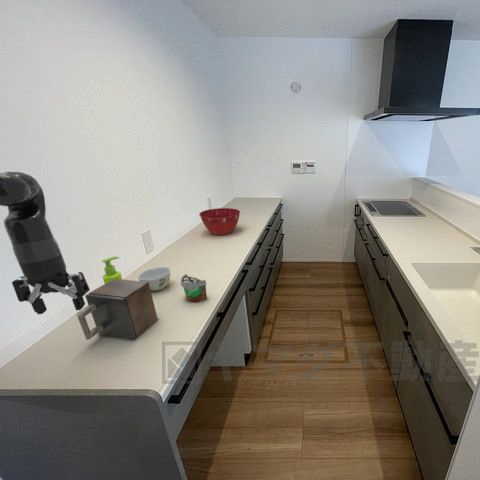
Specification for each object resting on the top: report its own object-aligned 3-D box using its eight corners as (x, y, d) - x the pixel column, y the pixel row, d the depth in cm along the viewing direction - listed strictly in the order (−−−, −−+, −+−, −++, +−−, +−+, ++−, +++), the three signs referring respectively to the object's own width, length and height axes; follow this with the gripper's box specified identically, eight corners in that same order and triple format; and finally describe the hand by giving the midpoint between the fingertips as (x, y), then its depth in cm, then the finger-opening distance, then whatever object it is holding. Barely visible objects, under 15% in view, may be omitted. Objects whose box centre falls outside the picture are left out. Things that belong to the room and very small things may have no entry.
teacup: (154, 280, 130) (151, 266, 127) (178, 282, 128) (175, 267, 126) (131, 297, 116) (126, 281, 113) (158, 299, 114) (154, 283, 112)
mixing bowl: (247, 227, 210) (245, 208, 205) (233, 239, 184) (230, 218, 178) (213, 225, 213) (211, 207, 207) (194, 237, 186) (191, 216, 181)
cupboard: (137, 338, 92) (125, 297, 86) (102, 333, 94) (88, 293, 88) (158, 320, 101) (148, 281, 95) (126, 316, 103) (114, 278, 97)
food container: (177, 300, 114) (173, 279, 111) (189, 293, 119) (185, 273, 116) (197, 307, 109) (193, 286, 106) (209, 299, 114) (205, 279, 111)
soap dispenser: (133, 298, 115) (121, 257, 108) (116, 307, 109) (103, 263, 102) (125, 295, 117) (113, 254, 110) (108, 303, 111) (94, 260, 104)
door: (121, 352, 86) (107, 309, 80) (84, 346, 88) (68, 304, 82) (136, 338, 92) (124, 297, 86) (102, 334, 94) (87, 293, 88)
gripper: (-11, 264, 60) (17, 323, 65) (63, 259, 63) (84, 315, 68) (17, 251, 66) (40, 305, 72) (82, 247, 69) (100, 299, 75)
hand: (61, 310), depth 70 cm, fingers open, 8 cm apart
